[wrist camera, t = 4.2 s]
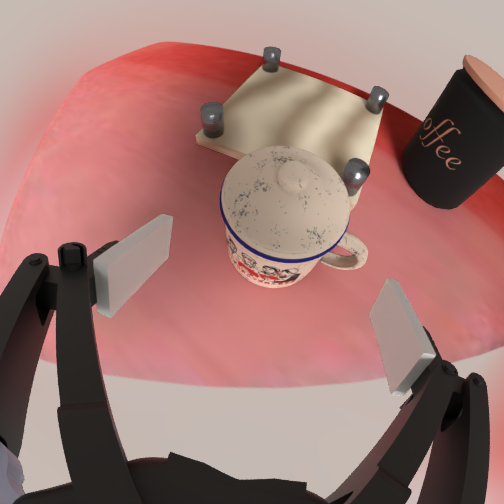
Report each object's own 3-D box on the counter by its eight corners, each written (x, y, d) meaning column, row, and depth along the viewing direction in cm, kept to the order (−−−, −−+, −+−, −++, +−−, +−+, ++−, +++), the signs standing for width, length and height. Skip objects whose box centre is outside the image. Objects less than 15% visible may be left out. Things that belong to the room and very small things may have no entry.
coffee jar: (394, 138, 33) (450, 41, 16) (450, 161, 33) (512, 84, 16) (403, 201, 29) (491, 97, 13) (463, 221, 29) (551, 147, 12)
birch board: (379, 115, 35) (383, 108, 33) (351, 210, 28) (356, 203, 27) (264, 69, 37) (265, 62, 35) (196, 144, 31) (195, 135, 29)
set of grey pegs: (381, 108, 33) (389, 91, 30) (354, 200, 27) (367, 181, 24) (266, 63, 35) (268, 45, 32) (199, 134, 29) (196, 112, 26)
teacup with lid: (207, 263, 26) (186, 198, 15) (251, 189, 29) (259, 103, 18) (324, 322, 24) (387, 296, 13) (356, 240, 27) (414, 176, 16)
